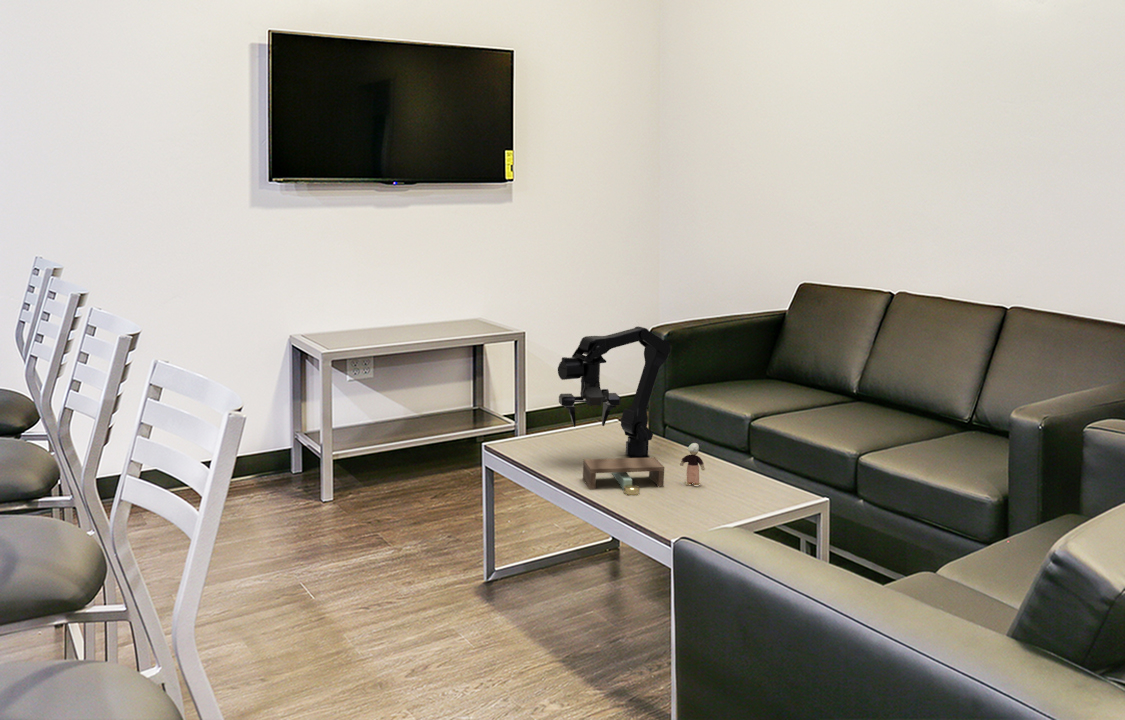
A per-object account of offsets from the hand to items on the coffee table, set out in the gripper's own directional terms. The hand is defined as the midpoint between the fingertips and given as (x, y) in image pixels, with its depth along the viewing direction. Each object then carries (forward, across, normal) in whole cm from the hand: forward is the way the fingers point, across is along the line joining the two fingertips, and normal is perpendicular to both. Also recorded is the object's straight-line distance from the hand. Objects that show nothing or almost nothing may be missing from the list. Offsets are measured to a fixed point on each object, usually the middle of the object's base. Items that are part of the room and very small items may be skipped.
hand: (588, 426), depth 297 cm
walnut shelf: (+12, +6, -21) cm, 25 cm away
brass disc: (+12, +6, -31) cm, 34 cm away
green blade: (+12, +6, -17) cm, 22 cm away
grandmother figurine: (+12, +26, -25) cm, 38 cm away
